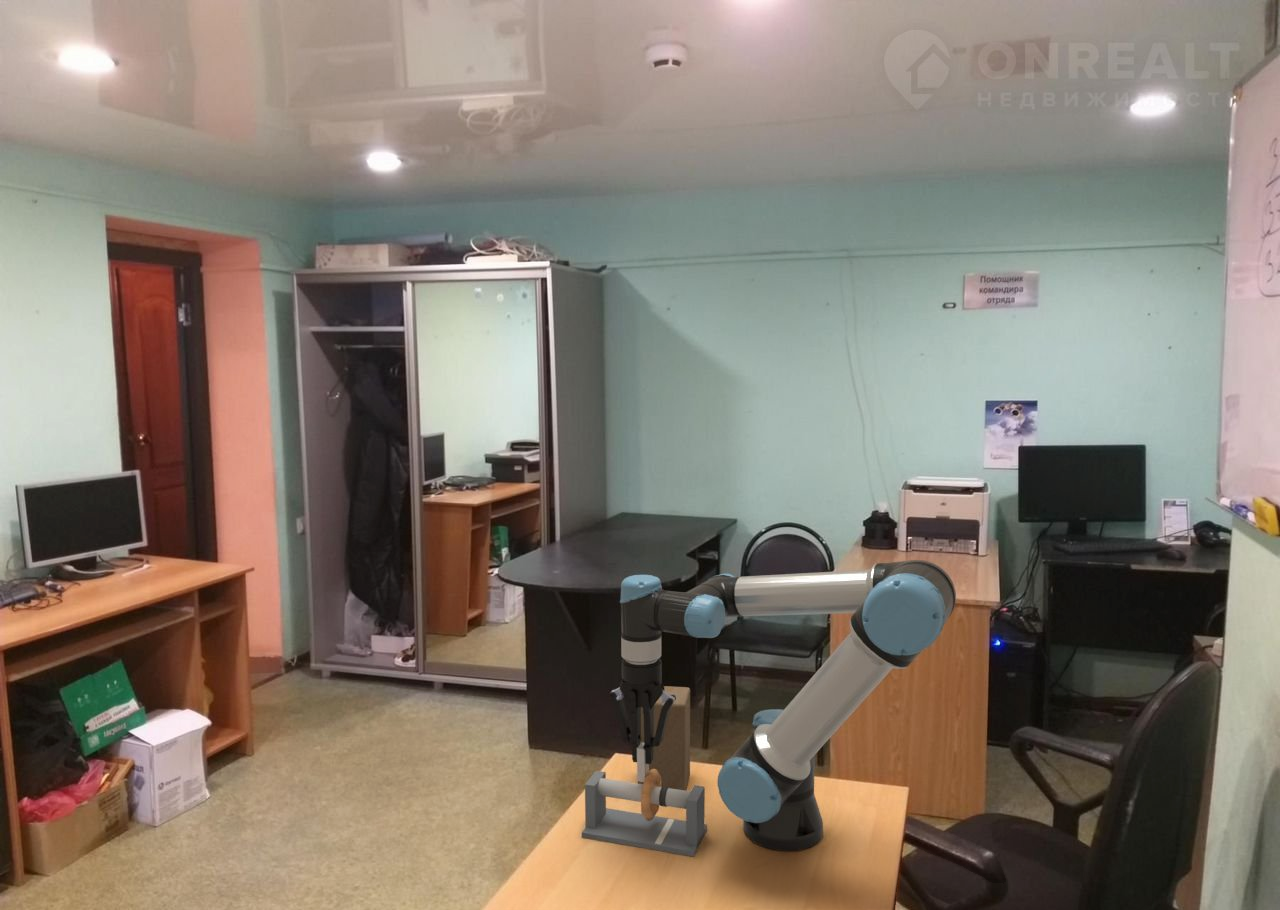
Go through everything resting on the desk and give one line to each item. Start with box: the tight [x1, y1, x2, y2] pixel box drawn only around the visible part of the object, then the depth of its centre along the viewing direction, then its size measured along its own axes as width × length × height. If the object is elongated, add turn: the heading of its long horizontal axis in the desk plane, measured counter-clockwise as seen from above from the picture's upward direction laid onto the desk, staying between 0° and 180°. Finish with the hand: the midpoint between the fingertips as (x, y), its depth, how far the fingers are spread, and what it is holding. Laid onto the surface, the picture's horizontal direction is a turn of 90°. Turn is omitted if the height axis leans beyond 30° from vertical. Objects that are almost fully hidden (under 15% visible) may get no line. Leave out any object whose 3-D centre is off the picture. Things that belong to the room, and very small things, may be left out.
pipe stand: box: [581, 770, 708, 858], centre depth 171 cm, size 22×10×10 cm, turn 72°
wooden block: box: [637, 685, 691, 791], centre depth 190 cm, size 10×10×20 cm
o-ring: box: [640, 769, 661, 821], centre depth 170 cm, size 2×9×9 cm, turn 162°
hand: (643, 778), depth 170 cm, fingers closed
